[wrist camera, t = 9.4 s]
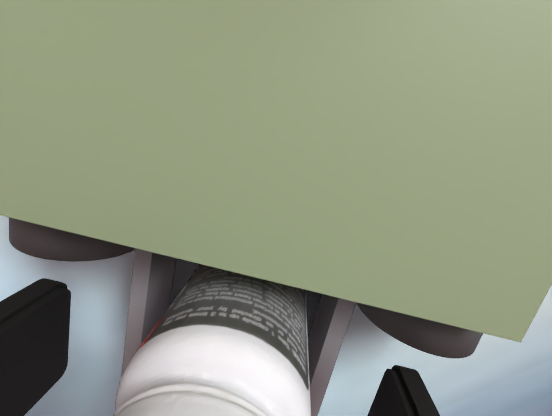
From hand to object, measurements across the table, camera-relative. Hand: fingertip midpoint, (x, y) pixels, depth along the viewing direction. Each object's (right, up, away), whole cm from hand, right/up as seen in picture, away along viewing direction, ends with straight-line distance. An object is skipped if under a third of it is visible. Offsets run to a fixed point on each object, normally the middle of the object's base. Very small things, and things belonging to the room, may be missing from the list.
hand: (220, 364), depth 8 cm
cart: (+2, +6, +3) cm, 7 cm away
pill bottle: (+1, +1, +5) cm, 5 cm away
